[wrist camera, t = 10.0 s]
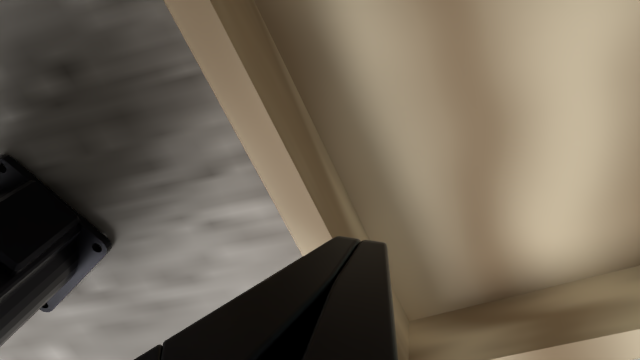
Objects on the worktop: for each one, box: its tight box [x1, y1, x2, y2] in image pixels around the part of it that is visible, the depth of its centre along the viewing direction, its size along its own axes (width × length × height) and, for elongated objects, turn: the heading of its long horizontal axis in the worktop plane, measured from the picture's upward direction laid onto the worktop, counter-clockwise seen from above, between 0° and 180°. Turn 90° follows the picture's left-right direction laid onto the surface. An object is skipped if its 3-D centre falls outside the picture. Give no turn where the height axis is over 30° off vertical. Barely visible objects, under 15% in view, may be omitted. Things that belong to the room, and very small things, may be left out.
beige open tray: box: [164, 0, 640, 360], centre depth 15 cm, size 12×21×5 cm, turn 25°
